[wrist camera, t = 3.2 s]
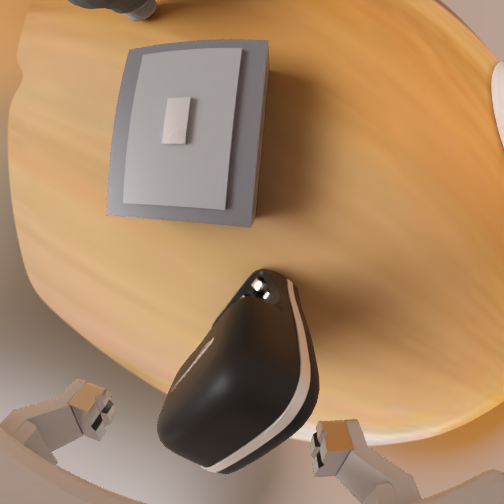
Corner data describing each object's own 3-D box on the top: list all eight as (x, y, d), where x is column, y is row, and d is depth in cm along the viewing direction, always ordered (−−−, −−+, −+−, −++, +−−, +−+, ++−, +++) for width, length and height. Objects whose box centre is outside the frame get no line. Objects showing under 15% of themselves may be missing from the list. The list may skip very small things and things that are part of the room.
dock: (269, 69, 15) (267, 35, 10) (255, 218, 17) (249, 229, 13) (154, 71, 15) (124, 46, 11) (138, 209, 18) (101, 216, 13)
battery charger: (254, 250, 18) (225, 350, 7) (301, 284, 18) (334, 410, 7) (197, 326, 19) (134, 449, 8) (240, 354, 20) (214, 487, 8)
